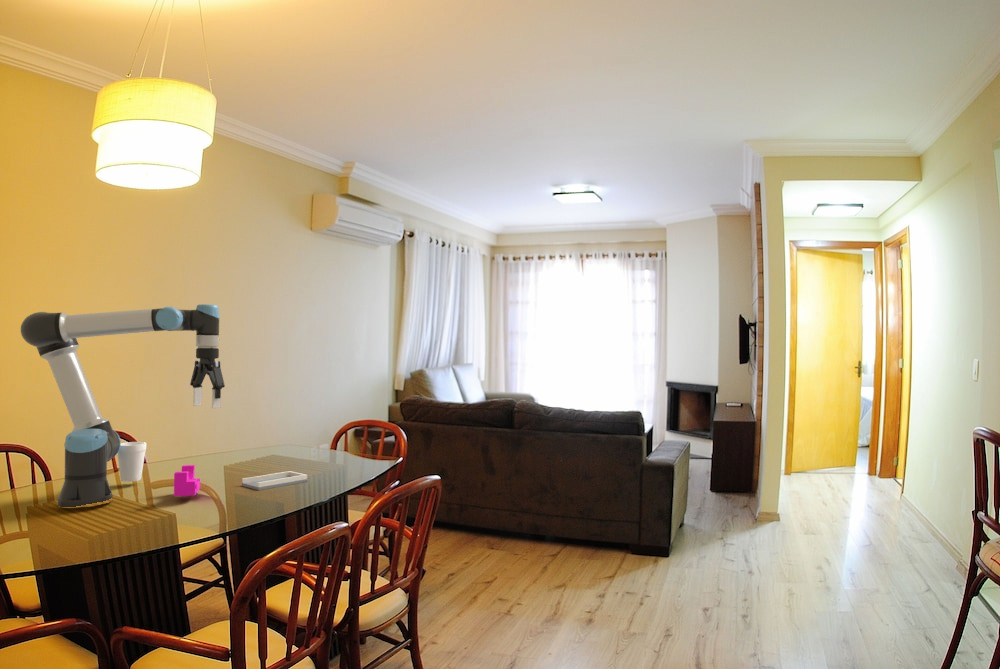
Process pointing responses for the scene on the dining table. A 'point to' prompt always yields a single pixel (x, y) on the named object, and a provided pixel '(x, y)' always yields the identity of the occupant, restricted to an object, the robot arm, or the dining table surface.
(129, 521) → the dining table surface
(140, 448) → the foam cup
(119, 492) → the dining table surface
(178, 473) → the toy block
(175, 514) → the dining table surface
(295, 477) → the tray
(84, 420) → the robot arm
